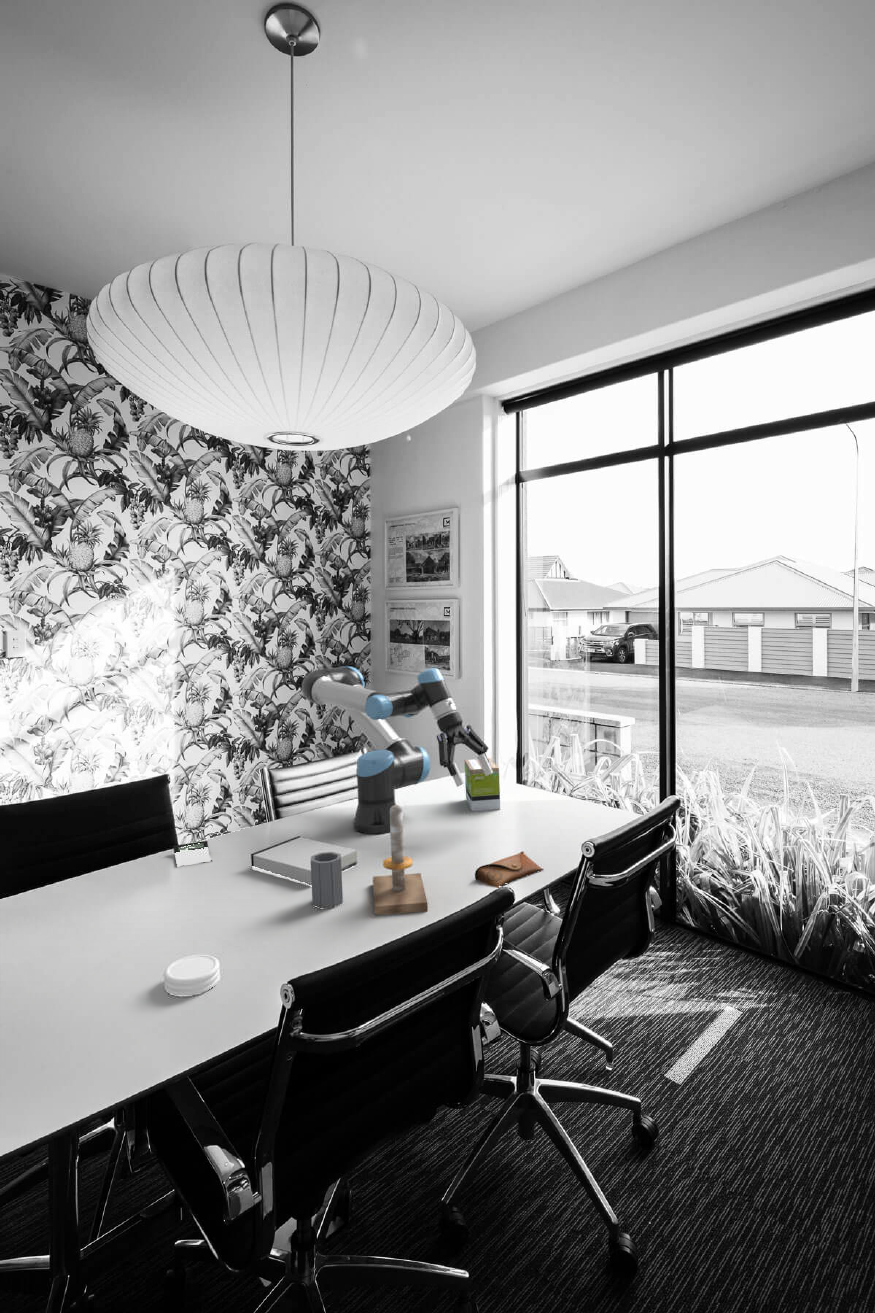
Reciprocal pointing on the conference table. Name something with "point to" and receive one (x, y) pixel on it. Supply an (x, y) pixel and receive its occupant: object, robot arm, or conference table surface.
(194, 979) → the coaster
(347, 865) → the disc drive
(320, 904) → the sleeve
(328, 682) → the robot arm
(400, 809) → the post stand
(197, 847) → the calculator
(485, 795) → the tea box
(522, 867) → the sunglasses case
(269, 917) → the conference table surface
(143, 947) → the conference table surface
